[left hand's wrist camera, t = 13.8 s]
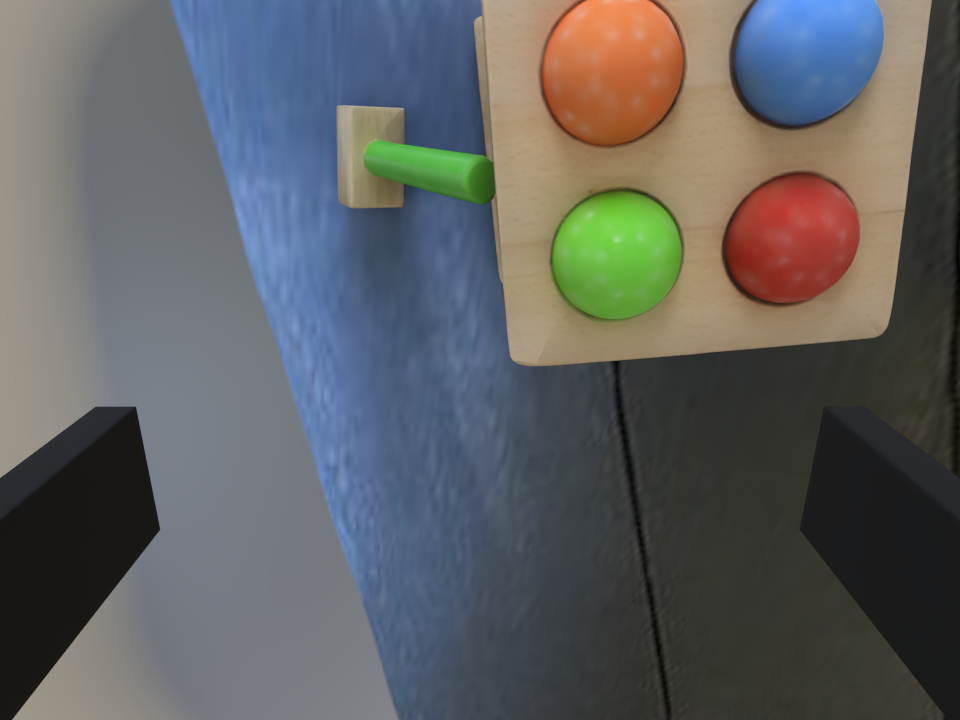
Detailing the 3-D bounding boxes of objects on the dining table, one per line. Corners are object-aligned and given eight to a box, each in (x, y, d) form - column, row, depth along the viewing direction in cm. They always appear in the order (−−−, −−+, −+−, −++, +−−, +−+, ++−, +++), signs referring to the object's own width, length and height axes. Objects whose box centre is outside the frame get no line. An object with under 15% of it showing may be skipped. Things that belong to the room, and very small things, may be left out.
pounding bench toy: (359, 292, 40) (273, 415, 23) (317, 35, 35) (171, -40, 19) (736, 256, 40) (926, 358, 23) (746, -11, 35) (998, -133, 18)
